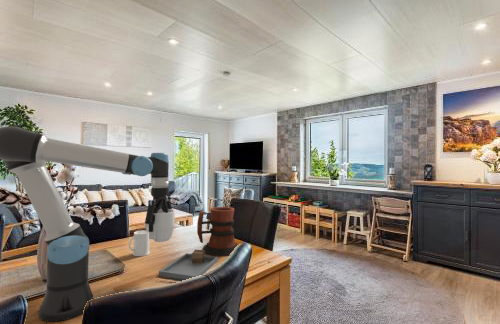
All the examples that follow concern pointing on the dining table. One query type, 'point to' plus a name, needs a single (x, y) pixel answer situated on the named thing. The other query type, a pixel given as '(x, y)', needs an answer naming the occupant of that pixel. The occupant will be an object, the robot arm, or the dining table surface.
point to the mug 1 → (140, 243)
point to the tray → (187, 268)
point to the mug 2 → (163, 225)
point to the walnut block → (198, 256)
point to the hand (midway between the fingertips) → (160, 235)
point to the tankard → (218, 231)
